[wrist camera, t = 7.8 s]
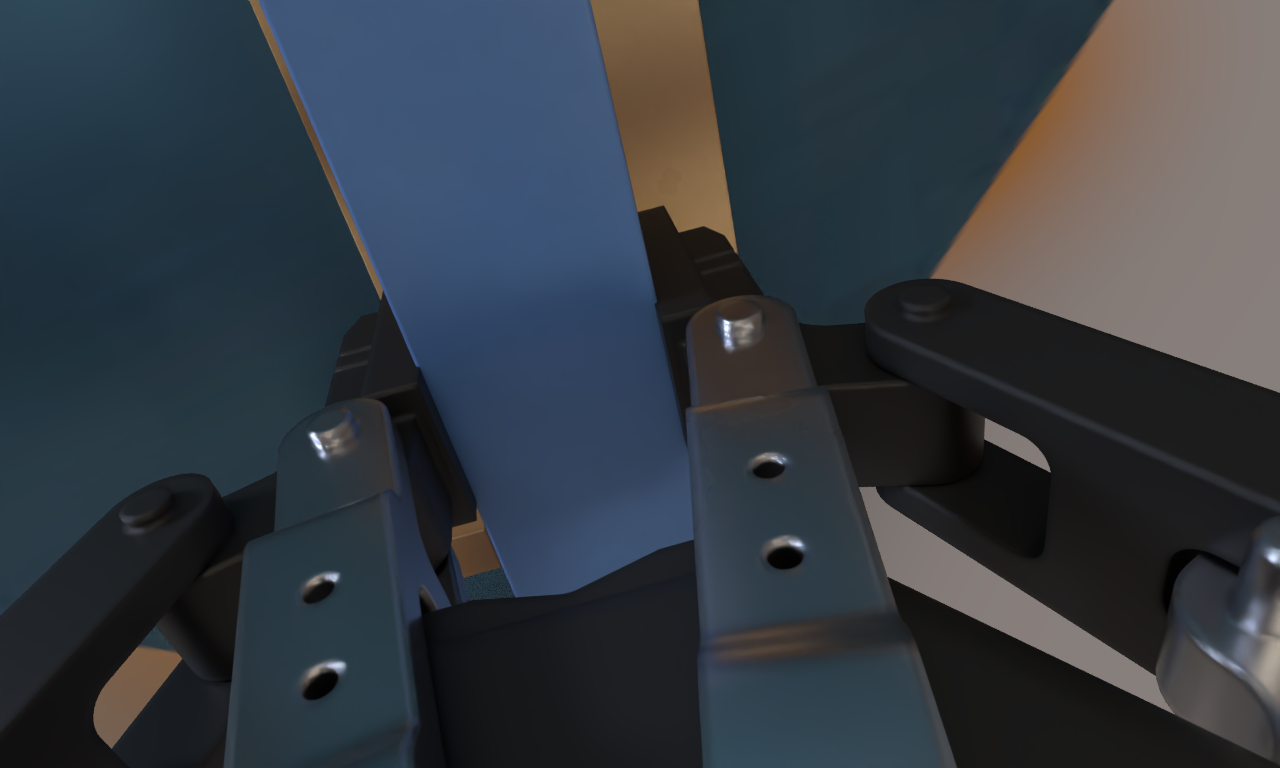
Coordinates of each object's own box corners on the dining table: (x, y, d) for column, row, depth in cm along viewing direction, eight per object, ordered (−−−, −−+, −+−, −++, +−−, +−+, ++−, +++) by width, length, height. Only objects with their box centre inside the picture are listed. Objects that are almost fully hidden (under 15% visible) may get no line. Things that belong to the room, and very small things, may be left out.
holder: (132, -300, 18) (-218, -456, 9) (622, -420, 18) (771, -691, 9) (443, 420, 29) (429, 679, 20) (744, 338, 29) (866, 557, 20)
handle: (200, -365, 9) (43, -491, 6) (465, -429, 9) (459, -592, 6) (579, 629, 19) (601, 798, 15) (708, 593, 19) (758, 754, 15)
